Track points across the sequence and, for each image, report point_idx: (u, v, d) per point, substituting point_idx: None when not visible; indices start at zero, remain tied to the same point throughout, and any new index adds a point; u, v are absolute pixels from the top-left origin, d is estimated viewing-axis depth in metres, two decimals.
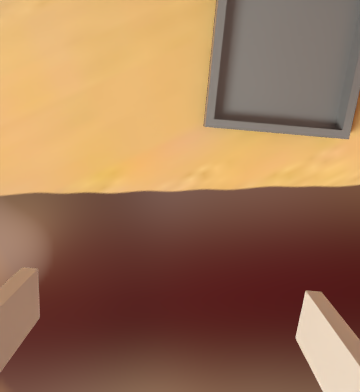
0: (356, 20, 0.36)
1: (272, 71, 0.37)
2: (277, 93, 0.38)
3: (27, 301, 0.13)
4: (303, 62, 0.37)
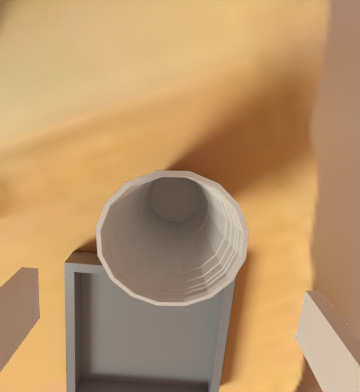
0: (218, 298, 0.34)
1: (137, 340, 0.36)
2: (145, 357, 0.37)
3: (27, 301, 0.13)
4: (168, 332, 0.36)
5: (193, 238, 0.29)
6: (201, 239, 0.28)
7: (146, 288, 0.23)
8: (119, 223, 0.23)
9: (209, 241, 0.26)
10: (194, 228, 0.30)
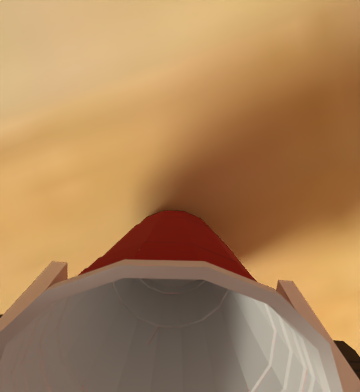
0: None
1: None
2: None
3: None
4: None
5: (203, 329, 0.17)
6: (218, 338, 0.16)
7: None
8: (56, 340, 0.11)
9: (234, 350, 0.14)
10: (205, 308, 0.18)
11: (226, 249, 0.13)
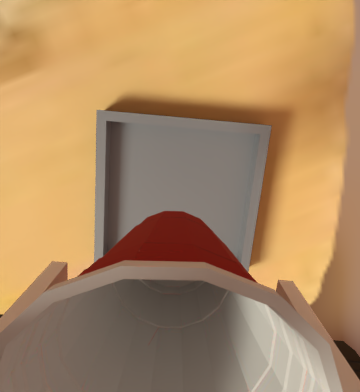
0: (250, 162, 0.34)
1: (166, 209, 0.35)
2: None
3: None
4: (198, 201, 0.35)
5: (203, 330, 0.17)
6: (218, 338, 0.16)
7: None
8: (56, 340, 0.11)
9: (234, 350, 0.14)
10: (205, 308, 0.18)
11: (226, 250, 0.13)
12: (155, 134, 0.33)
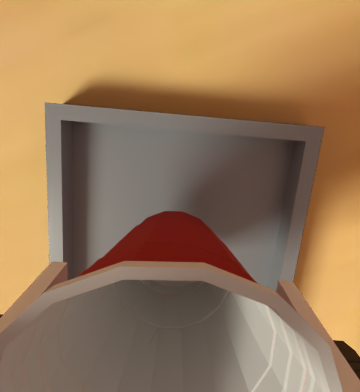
0: (285, 182, 0.22)
1: None
2: None
3: None
4: None
5: (203, 330, 0.17)
6: (218, 338, 0.16)
7: None
8: (56, 341, 0.11)
9: (234, 351, 0.14)
10: (205, 309, 0.18)
11: (226, 250, 0.13)
12: (140, 140, 0.22)
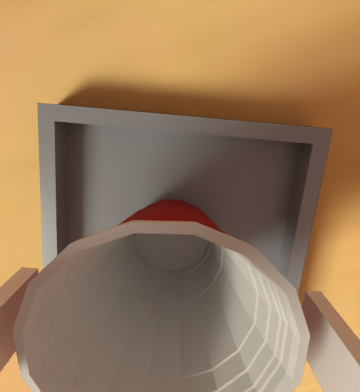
0: (290, 186, 0.21)
1: None
2: None
3: None
4: None
5: (199, 304, 0.19)
6: (212, 310, 0.18)
7: None
8: (71, 301, 0.13)
9: (225, 318, 0.16)
10: (201, 286, 0.20)
11: None
12: (139, 143, 0.21)
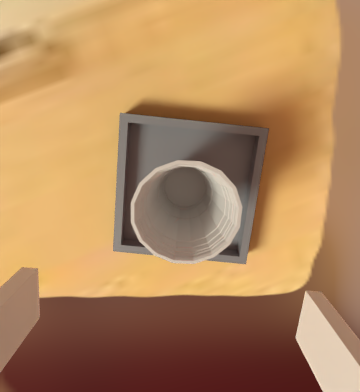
0: (250, 159, 0.39)
1: None
2: None
3: (27, 301, 0.13)
4: None
5: (199, 218, 0.37)
6: (206, 218, 0.35)
7: (165, 250, 0.31)
8: (145, 201, 0.31)
9: (212, 218, 0.34)
10: (200, 211, 0.38)
11: (209, 173, 0.33)
12: (168, 134, 0.38)
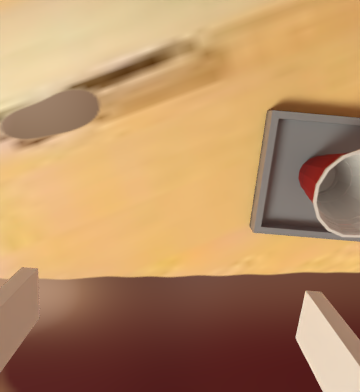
0: None
1: None
2: (312, 203, 0.46)
3: (27, 301, 0.13)
4: None
5: (340, 201, 0.42)
6: (350, 200, 0.41)
7: (333, 226, 0.36)
8: (314, 185, 0.36)
9: None
10: (338, 195, 0.43)
11: None
12: (307, 128, 0.44)
